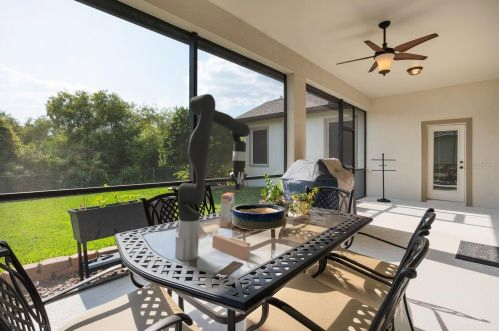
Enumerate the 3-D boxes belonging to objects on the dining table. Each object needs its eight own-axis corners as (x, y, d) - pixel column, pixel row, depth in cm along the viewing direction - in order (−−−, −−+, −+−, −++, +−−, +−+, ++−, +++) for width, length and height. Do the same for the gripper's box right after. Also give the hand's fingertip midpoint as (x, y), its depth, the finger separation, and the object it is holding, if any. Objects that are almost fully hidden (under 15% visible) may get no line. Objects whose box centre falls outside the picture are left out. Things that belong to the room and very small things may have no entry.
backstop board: (243, 260, 124) (244, 247, 124) (212, 247, 139) (212, 235, 139) (248, 258, 126) (249, 245, 126) (216, 245, 141) (217, 234, 141)
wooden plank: (224, 276, 105) (213, 273, 107) (224, 280, 105) (213, 276, 107) (243, 263, 120) (233, 260, 122) (243, 266, 120) (232, 263, 122)
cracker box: (228, 228, 176) (229, 195, 175) (218, 227, 177) (220, 194, 176) (233, 223, 189) (235, 192, 188) (225, 222, 191) (226, 192, 190)
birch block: (241, 256, 130) (241, 245, 129) (224, 249, 138) (224, 239, 137) (249, 253, 134) (250, 243, 134) (232, 246, 142) (233, 237, 142)
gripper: (242, 159, 164) (240, 188, 164) (225, 159, 154) (224, 190, 154) (251, 160, 159) (250, 190, 159) (235, 159, 149) (233, 191, 149)
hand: (237, 190), depth 157 cm, fingers closed
